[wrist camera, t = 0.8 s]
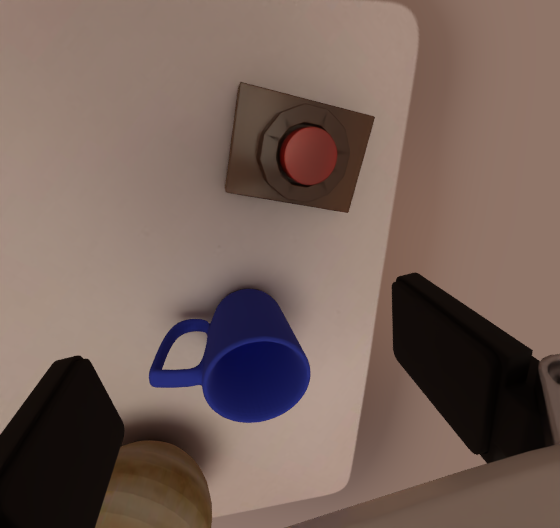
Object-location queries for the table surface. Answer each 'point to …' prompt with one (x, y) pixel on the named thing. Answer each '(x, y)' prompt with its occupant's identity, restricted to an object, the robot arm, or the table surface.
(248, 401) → the mug
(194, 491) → the decorative ball
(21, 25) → the table surface
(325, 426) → the table surface
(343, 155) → the button block
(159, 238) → the table surface
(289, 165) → the power button
